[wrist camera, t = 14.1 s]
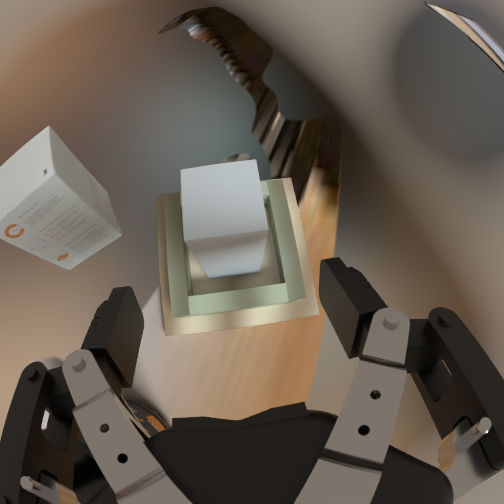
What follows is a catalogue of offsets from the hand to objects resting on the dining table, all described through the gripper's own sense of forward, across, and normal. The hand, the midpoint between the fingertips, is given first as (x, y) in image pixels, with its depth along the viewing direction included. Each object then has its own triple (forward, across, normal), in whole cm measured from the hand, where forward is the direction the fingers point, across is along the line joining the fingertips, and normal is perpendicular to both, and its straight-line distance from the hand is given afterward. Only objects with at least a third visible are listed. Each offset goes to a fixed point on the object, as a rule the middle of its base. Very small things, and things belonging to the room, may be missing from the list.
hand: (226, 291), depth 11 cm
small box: (+18, +16, +3) cm, 24 cm away
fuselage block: (+13, 0, +6) cm, 14 cm away
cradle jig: (+14, 0, +6) cm, 15 cm away
